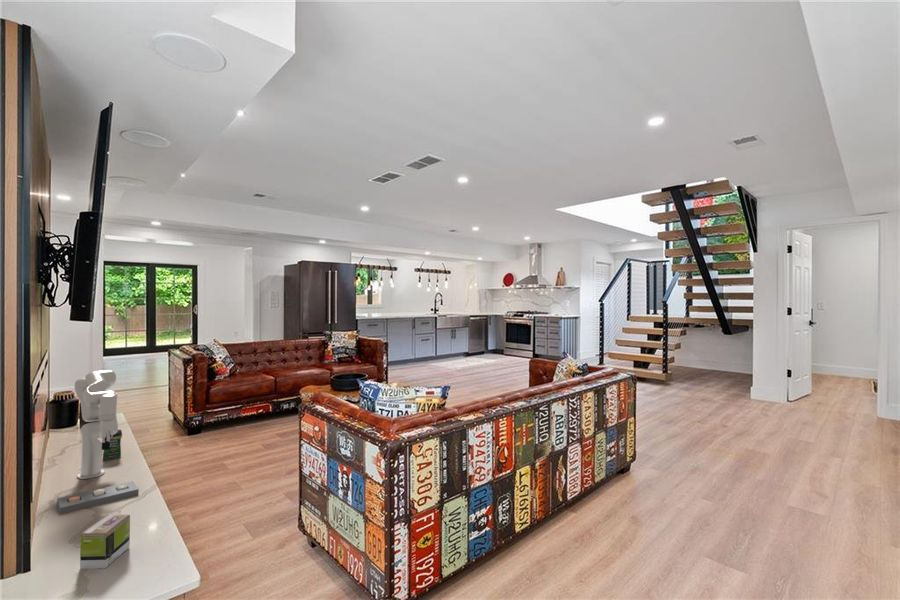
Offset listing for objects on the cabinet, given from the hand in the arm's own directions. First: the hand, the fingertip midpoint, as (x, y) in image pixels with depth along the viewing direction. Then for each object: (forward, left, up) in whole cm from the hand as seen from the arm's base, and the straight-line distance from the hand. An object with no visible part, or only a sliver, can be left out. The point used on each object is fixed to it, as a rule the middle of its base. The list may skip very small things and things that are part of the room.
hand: (105, 448), depth 239 cm
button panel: (+12, -4, -23) cm, 26 cm away
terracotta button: (+12, -14, -22) cm, 29 cm away
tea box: (+78, -11, -23) cm, 82 cm away
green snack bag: (-54, +12, -23) cm, 59 cm away
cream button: (+12, -4, -21) cm, 25 cm away
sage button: (+12, +6, -22) cm, 26 cm away
